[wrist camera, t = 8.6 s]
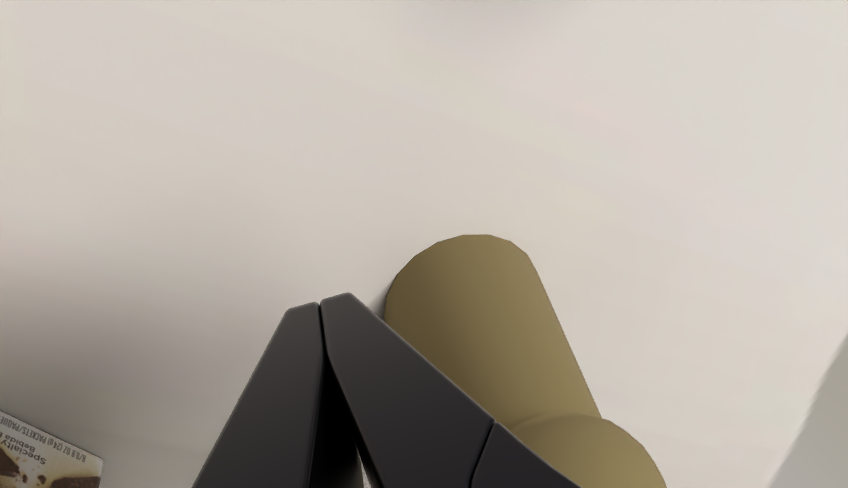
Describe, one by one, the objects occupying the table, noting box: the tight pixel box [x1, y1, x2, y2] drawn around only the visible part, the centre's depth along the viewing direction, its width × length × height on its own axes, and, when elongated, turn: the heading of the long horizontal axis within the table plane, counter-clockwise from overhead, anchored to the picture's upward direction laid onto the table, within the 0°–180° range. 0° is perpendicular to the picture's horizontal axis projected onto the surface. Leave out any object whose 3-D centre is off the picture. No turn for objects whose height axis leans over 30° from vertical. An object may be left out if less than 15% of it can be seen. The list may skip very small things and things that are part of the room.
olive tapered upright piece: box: [384, 235, 667, 488], centre depth 20 cm, size 6×6×11 cm
